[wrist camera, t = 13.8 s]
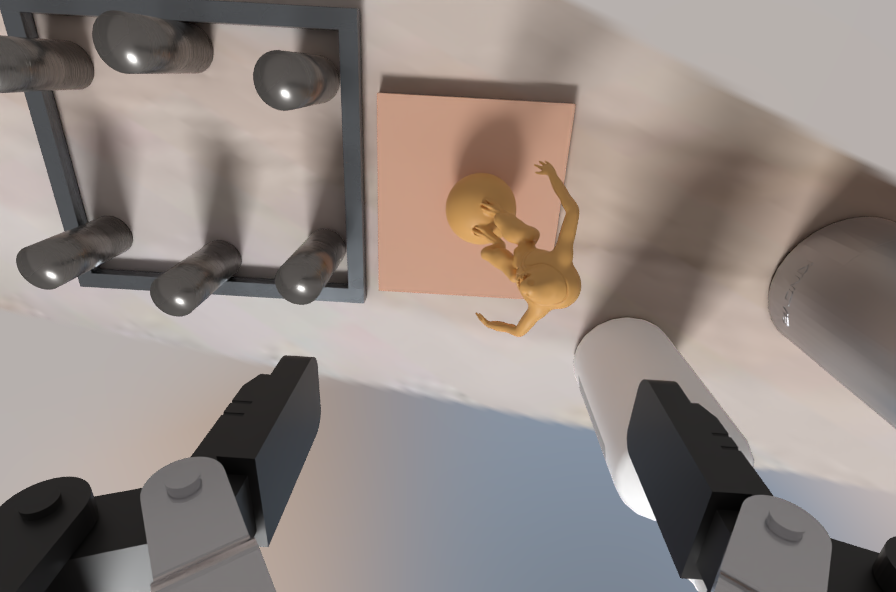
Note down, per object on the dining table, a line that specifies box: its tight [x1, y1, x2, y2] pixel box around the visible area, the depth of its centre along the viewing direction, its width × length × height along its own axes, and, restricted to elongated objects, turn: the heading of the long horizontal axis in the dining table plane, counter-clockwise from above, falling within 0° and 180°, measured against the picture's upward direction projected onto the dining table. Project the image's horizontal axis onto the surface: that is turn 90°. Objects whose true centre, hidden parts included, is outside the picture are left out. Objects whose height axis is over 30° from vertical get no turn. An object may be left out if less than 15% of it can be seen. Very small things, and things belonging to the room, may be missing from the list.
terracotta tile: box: [377, 92, 576, 299], centre depth 30 cm, size 11×12×1 cm
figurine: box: [446, 161, 581, 337], centre depth 24 cm, size 8×6×12 cm
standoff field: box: [0, 0, 366, 316], centre depth 27 cm, size 19×17×6 cm
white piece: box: [573, 317, 754, 592], centre depth 26 cm, size 7×7×18 cm
